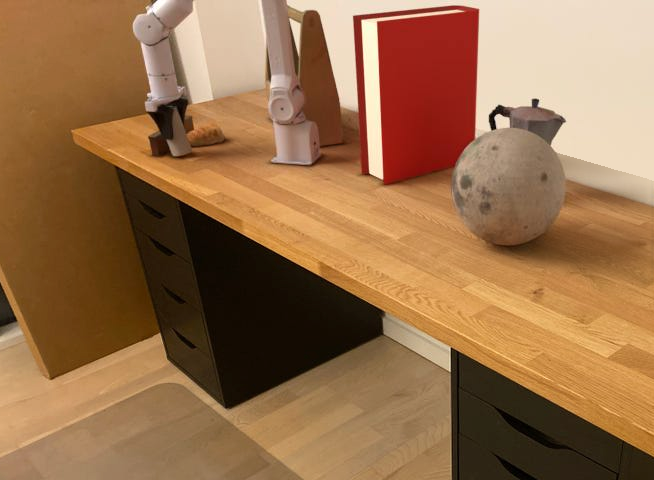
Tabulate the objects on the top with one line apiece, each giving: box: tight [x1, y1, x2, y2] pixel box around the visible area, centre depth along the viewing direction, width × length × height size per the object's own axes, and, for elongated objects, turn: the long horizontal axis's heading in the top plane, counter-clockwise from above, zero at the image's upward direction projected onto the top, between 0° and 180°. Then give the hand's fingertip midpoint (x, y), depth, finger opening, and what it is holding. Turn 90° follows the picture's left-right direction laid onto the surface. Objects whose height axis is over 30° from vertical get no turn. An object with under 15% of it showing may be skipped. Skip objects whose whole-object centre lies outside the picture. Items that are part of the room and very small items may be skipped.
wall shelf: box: [147, 114, 195, 157], centre depth 172 cm, size 2×18×4 cm, turn 171°
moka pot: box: [488, 98, 567, 147], centre depth 144 cm, size 10×15×20 cm, turn 78°
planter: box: [167, 105, 193, 157], centre depth 164 cm, size 4×4×10 cm
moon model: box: [450, 127, 567, 246], centre depth 126 cm, size 20×20×20 cm
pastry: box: [186, 122, 225, 147], centre depth 174 cm, size 9×7×4 cm
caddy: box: [264, 4, 344, 147], centre depth 177 cm, size 29×11×30 cm, turn 28°
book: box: [352, 4, 480, 186], centre depth 155 cm, size 27×8×32 cm, turn 131°
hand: (173, 135), depth 165 cm, fingers closed on planter, 4 cm apart
